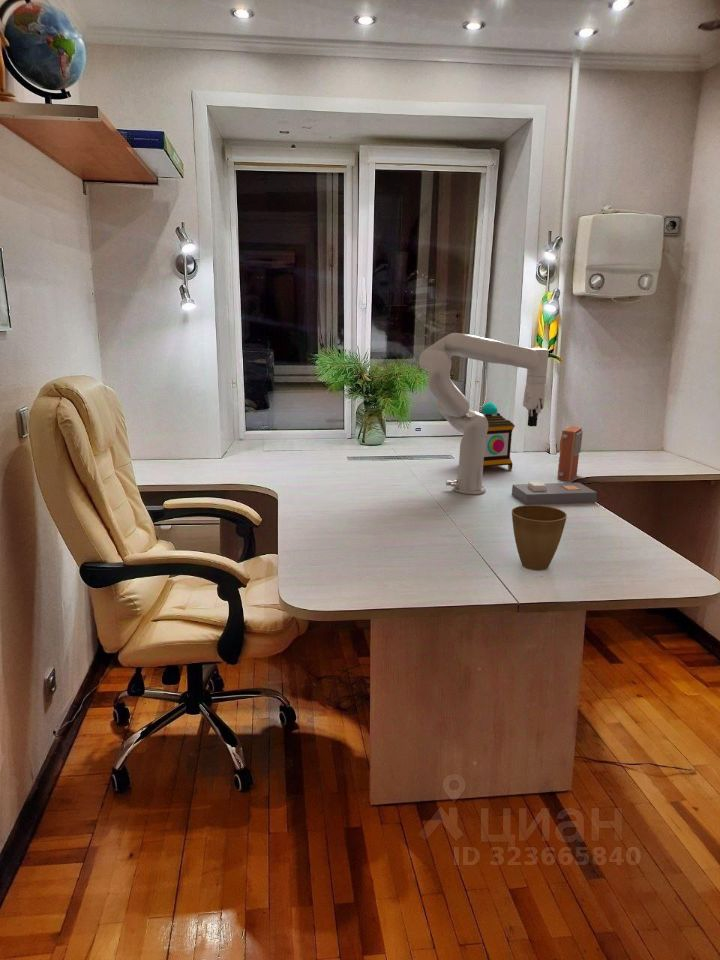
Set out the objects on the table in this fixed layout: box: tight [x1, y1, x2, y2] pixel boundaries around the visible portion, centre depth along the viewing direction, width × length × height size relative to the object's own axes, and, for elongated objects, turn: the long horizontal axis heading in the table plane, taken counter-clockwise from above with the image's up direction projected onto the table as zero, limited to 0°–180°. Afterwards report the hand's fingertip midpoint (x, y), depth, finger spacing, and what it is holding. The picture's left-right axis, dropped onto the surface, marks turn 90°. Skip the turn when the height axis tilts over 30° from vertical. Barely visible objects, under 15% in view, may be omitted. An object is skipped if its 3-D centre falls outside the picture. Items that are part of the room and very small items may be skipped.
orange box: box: [556, 425, 584, 482], centre depth 282 cm, size 21×7×15 cm
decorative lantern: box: [478, 401, 516, 471], centre depth 295 cm, size 20×20×30 cm
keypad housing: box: [511, 482, 598, 505], centre depth 253 cm, size 28×14×4 cm, turn 100°
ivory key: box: [527, 481, 546, 491], centre depth 251 cm, size 5×5×3 cm
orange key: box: [562, 486, 580, 490], centre depth 254 cm, size 5×5×3 cm
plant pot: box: [511, 504, 568, 571], centre depth 185 cm, size 15×15×16 cm
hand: (532, 425), depth 263 cm, fingers closed
